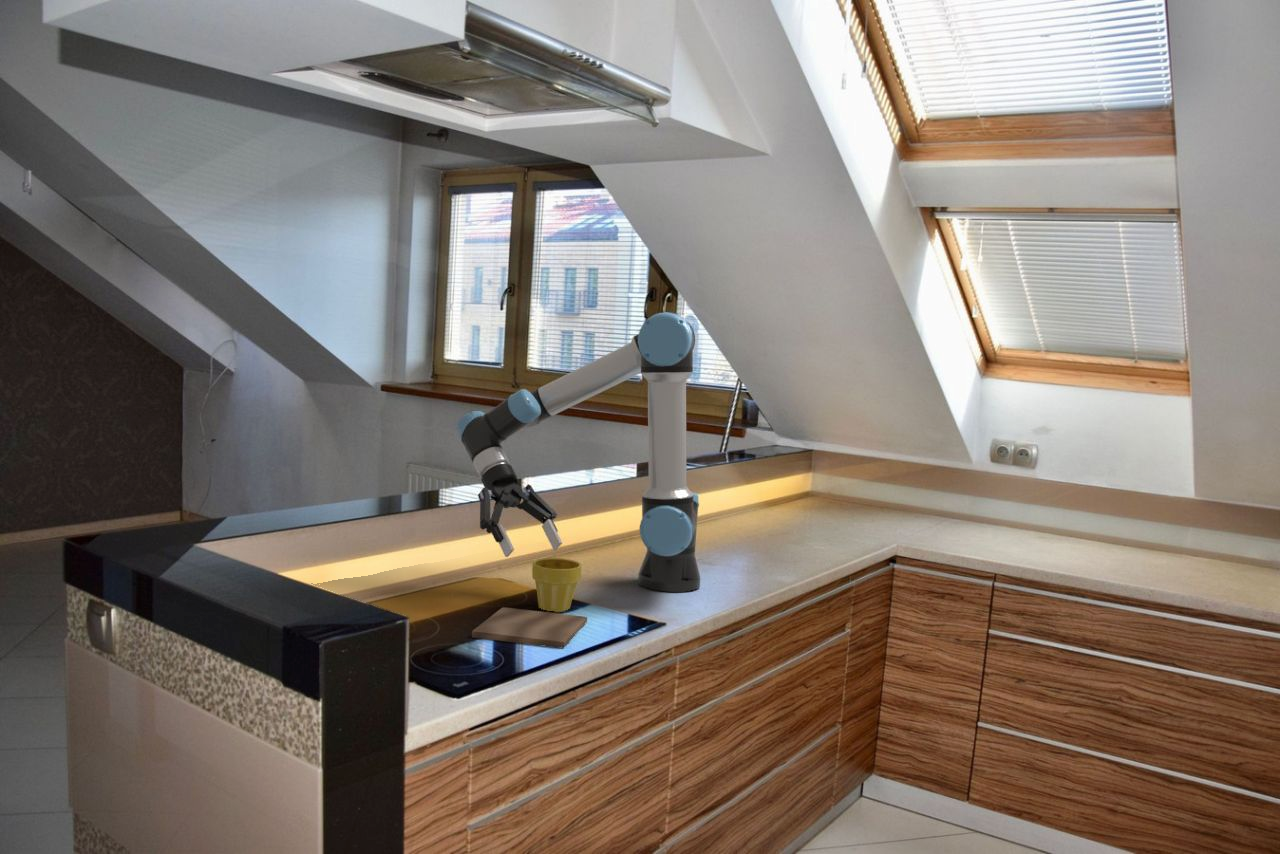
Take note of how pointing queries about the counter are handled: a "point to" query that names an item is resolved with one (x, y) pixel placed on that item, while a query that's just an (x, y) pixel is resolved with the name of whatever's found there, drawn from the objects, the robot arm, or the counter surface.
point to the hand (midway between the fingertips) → (534, 550)
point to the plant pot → (555, 582)
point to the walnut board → (530, 627)
